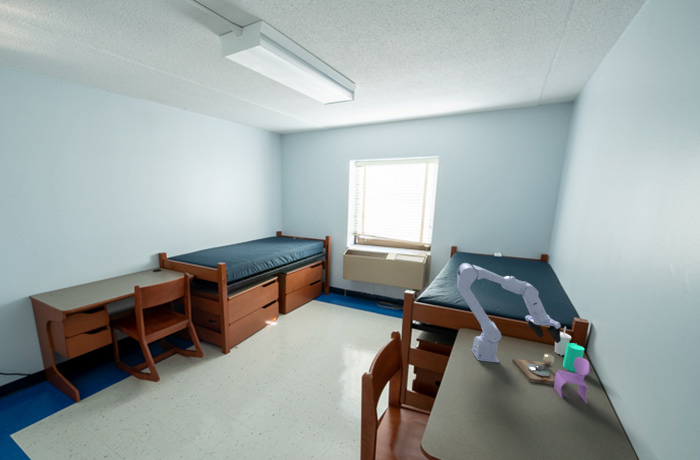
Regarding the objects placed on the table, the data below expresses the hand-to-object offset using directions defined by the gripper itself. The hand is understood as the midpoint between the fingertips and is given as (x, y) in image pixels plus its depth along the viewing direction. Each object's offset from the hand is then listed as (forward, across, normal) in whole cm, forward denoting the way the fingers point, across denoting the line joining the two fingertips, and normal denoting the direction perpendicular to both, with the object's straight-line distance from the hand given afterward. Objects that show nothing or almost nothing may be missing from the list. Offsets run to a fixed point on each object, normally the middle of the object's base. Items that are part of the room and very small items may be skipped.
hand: (549, 339), depth 116 cm
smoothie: (+19, +13, -13) cm, 26 cm away
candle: (+18, +2, -6) cm, 19 cm away
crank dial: (+9, 0, +10) cm, 13 cm away
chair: (+13, -11, +12) cm, 21 cm away
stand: (+9, +1, +12) cm, 15 cm away
